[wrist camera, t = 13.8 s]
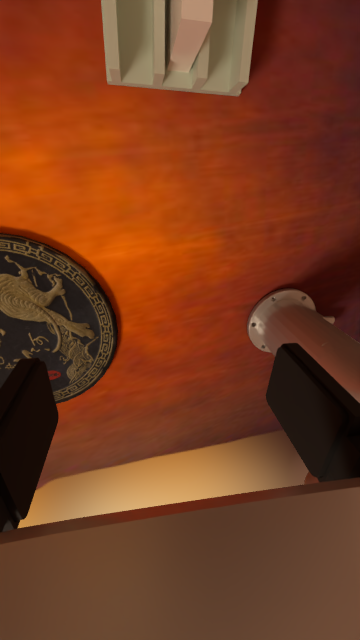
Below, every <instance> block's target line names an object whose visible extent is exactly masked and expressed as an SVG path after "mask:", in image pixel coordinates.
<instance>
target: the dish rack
mask: <svg viewBox="0 0 360 640" xmlns="http://www.w3.org/2000/svg"><path fill="white" fill-rule="evenodd" d="M257 3H258V0H213V15H212V24H211V26H210V28H209V30H208V32H207V34H206V36H205V39H204V41H203V43H202V45H201V47H200V49H199V51H198V54H197V56H196V58H195V60H194V62H193V64H192V66H191V69H190V71H189V73H188V72H178V71H169V70H167V7H168V0H101V4H102V18H103V31H104V45H105V59H106V72H107V82H108V84H112V85H123V86H133V87H144V88H155V89H165V90H176V91H187V92H198V93H208V94H219V95H230V96H239V95H240V94H241V89H242V88H243V87H244V86H245V85H246V84H247V83H248V80H249V71H250V63H251V54H252V46H253V37H254V29H255V20H256V12H257Z"/></svg>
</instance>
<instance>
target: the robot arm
mask: <svg viewBox="0 0 360 640" xmlns="http://www.w3.org/2000/svg"><path fill="white" fill-rule="evenodd" d="M334 322H335V318H334V317H333V316H325V317H324V316H322V315H321V314H319V313H318V312H316V308H315V304H314V302H313V301H312V299H311V298H310V297H309V296H308V295H307V294H305V293H304V292H302V291H300V290H297V289H281V290H277V291H275V292H272V293H270V294H269V295H267V296H265V297H264V298H263V299H262V300H260V301H259V302H258V303H257V305H256V306H255V307H254V309H253V310H252V312H251V314H250V316H249V319H248V323H247V331H248V336H249V338H250V340H251V341H252V342H253V344H254V345H255V346H256V347H257V348H259V349H260V350H263V351H266V352H272V354H273V355H274V356H275V360H274V365H273V369H272V373H271V377H270V381H269V385H268V389H267V393H266V400H267V402H268V404H269V406H270V408H271V409H272V411H273V413H274V414H275V416H276V418H277V419H278V421H279V422H280V424H281V426H282V427H283V429H284V431H285V432H286V434H287V436H288V437H289V439H290V441H291V442H292V444H293V445H294V447H295V448H296V450H297V452H298V454H299V455H300V457H301V459H302V460H303V462H304V463H305V465H306V467H307V468H308V470H309V472H308V474H307V476H306V478H305V481H304V485H298V486H291V487H284V488H278V489H270V490H263V491H256V492H249V493H242V494H235V495H228V496H222V497H215V498H208V499H201V500H195V501H188V502H182V503H175V504H168V505H161V506H155V507H148V508H141V509H135V510H129V511H122V512H116V513H110V514H103V515H96V516H89V517H83V518H76V519H71V520H65V521H59V522H53V523H47V524H41V525H36V526H30V527H24V528H18V525H19V522H20V520H22V519H25V518H26V516H27V514H28V511H29V508H30V505H31V502H32V499H33V496H34V493H35V490H36V487H37V484H38V481H39V478H40V475H41V472H42V469H43V466H44V463H45V460H46V457H47V453H48V450H49V447H50V444H51V441H52V438H53V435H54V432H55V429H56V426H57V423H58V410H57V407H56V403H55V399H54V395H53V391H52V387H51V383H50V379H49V375H48V371H47V367H46V364H45V362H44V361H40V359H39V358H24V359H20V360H19V361H18V363H17V364H16V366H15V367H14V369H13V370H12V372H11V373H10V375H9V376H8V378H7V379H6V381H5V382H4V384H3V385H2V387H1V388H0V640H360V343H358V342H357V341H355V340H354V339H353V338H351V337H350V336H348V335H347V334H346V333H344V332H343V331H341V330H340V329H338V328H337V327H336V326H334V325H333V323H334ZM17 528H18V529H17Z"/></svg>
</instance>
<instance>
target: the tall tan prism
mask: <svg viewBox="0 0 360 640" xmlns="http://www.w3.org/2000/svg"><path fill="white" fill-rule="evenodd" d="M212 15H213V0H168V7H167V70H169V71H178V72H188V73H189V71H190V69H191V66H192V64H193V62H194V60H195V58H196V56H197V54H198V51H199V49H200V47H201V45H202V43H203V41H204V39H205V36H206V34H207V32H208V30H209V28H210V26H211V24H212Z"/></svg>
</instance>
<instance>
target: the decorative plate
mask: <svg viewBox="0 0 360 640" xmlns="http://www.w3.org/2000/svg"><path fill="white" fill-rule="evenodd" d="M117 335H118V329H117V322H116V316H115V313H114V310H113V308H112V305H111V303H110V300H109V298H108V297H107V295H106V294H105V292H104V290H103V289H102V287H101V286H100V284H99V283H98V282H97V281H96V280H95V279H94V278H93V276H92V275H91V274H90V273H89V272H88V271H87V270H86V269H85V268H84V267H82V266H81V265H80V264H78V263H77V262H76V261H74V260H73V259H72V258H70V257H69V256H68V255H66V254H64V253H62V252H61V251H59V250H57V249H55V248H53V247H51V246H49V245H47V244H45V243H42V242H39V241H36V240H32V239H29V238H26V237H23V236H18V235H11V234H4V233H0V388H1V387H2V385H3V384H4V382H5V381H6V379H7V378H8V376H9V375H10V373H11V372H12V370H13V369H14V367H15V366H16V364H17V363H18V361H19V360H20V359H24V358H39V359H40V361H44V362H45V364H46V367H47V371H48V375H49V379H50V383H51V387H52V391H53V395H54V399H55V403H56V404H57V403H61V402H65V401H68V400H70V399H72V398H74V397H76V396H79V395H81V394H82V393H84V392H85V391H87V390H88V389H90V388H91V387H93V386H94V385H95V384H96V383H97V382H98V381H99V380H100V379H101V378H102V377H103V375H104V374H105V372H106V371H107V369H108V367H109V366H110V364H111V362H112V360H113V356H114V353H115V350H116V347H117Z"/></svg>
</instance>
